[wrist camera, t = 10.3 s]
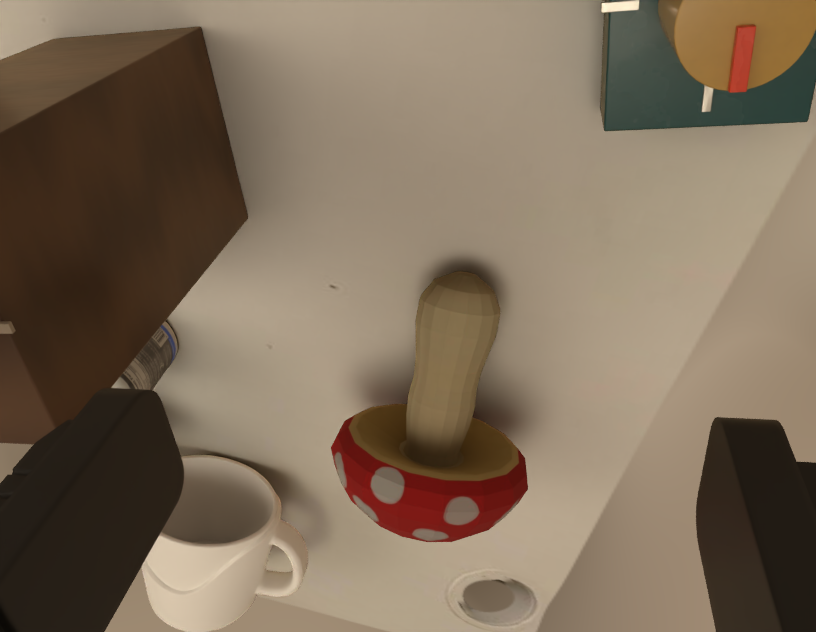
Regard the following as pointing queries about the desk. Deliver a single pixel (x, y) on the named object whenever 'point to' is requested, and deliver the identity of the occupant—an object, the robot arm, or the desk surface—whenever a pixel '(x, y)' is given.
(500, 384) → the desk surface
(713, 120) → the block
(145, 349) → the pill bottle
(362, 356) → the desk surface
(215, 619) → the mug
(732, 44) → the tan cylinder
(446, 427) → the decorative mushroom
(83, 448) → the robot arm
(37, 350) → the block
